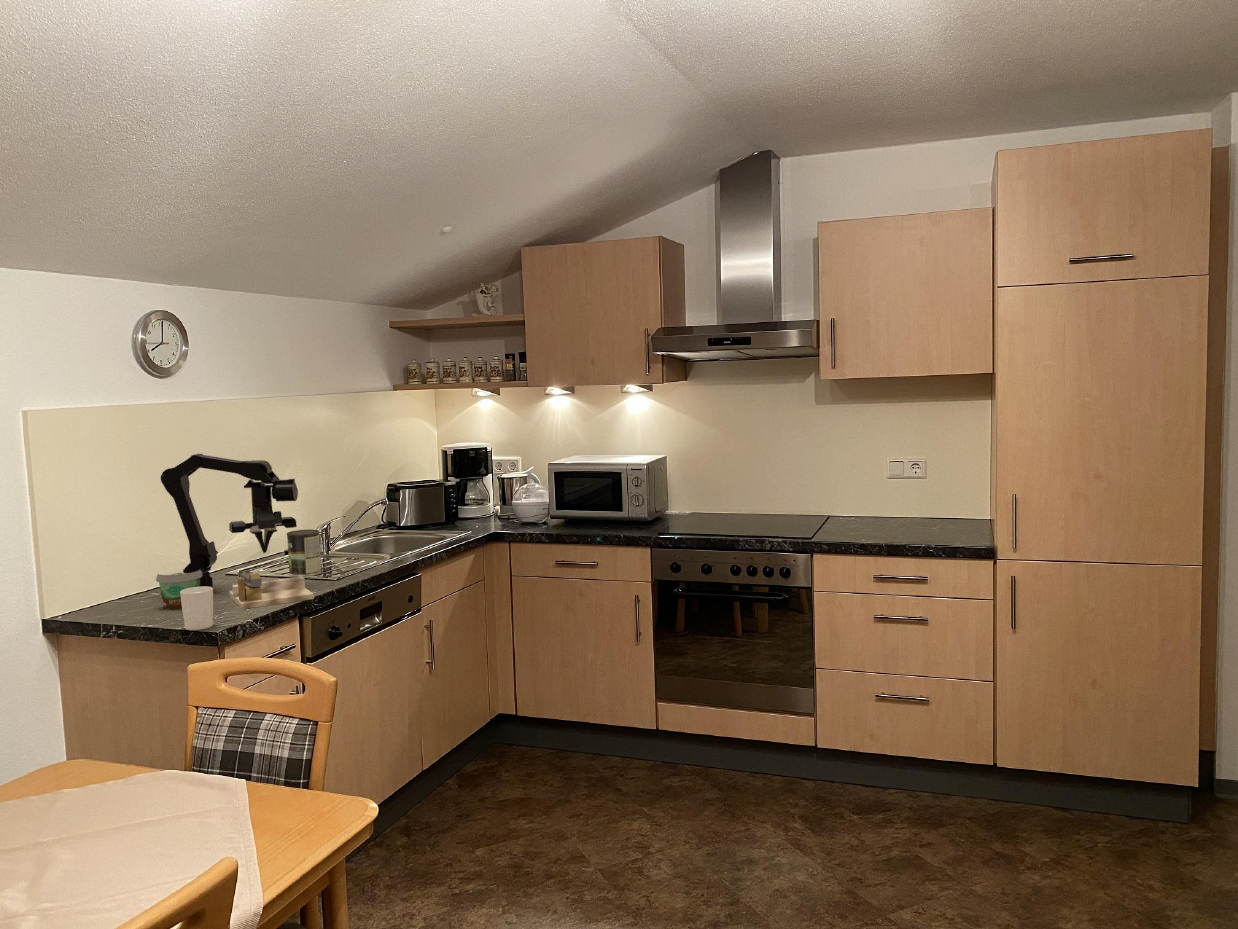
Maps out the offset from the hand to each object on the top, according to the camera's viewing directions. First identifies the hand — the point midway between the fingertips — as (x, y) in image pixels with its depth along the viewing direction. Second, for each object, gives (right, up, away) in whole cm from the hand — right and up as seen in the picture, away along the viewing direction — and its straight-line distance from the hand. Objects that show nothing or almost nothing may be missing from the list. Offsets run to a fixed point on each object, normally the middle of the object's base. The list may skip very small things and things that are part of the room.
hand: (264, 552), depth 291 cm
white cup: (-2, -16, -41) cm, 44 cm away
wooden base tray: (+5, -13, -9) cm, 16 cm away
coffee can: (+4, -10, +26) cm, 28 cm away
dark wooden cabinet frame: (0, -8, -12) cm, 15 cm away
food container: (-17, -14, -18) cm, 29 cm away
